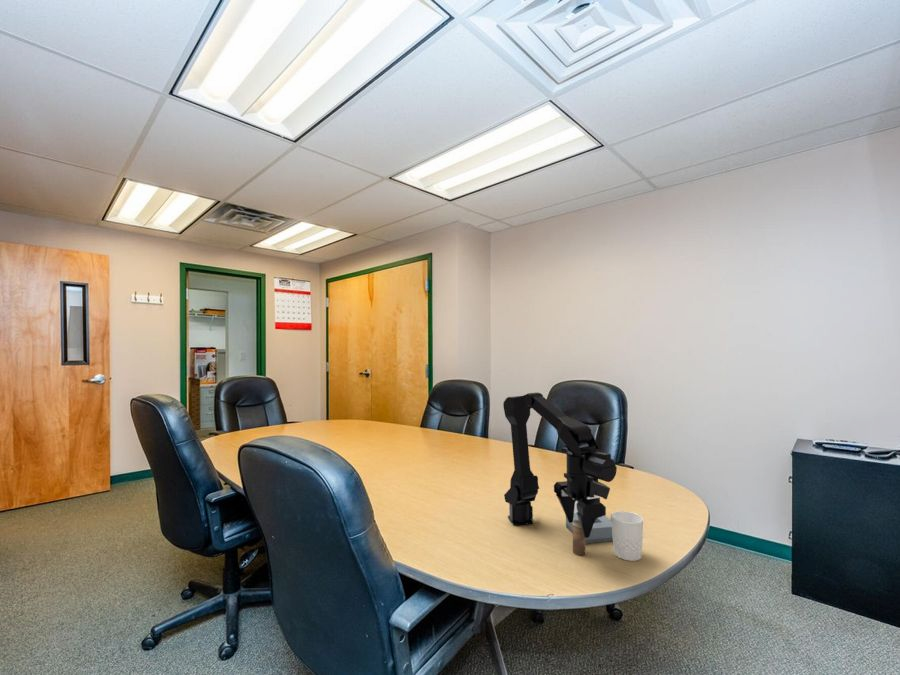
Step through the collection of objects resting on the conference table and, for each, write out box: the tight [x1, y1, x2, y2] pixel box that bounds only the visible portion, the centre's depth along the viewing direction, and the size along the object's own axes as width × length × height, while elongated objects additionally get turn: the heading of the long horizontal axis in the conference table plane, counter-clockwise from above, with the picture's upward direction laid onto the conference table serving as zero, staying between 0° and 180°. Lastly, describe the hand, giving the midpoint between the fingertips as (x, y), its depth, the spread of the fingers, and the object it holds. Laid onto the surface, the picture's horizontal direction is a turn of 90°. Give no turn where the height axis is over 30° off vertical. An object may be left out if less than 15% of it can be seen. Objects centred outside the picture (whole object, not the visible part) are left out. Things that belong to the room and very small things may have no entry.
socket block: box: [565, 513, 613, 544], centre depth 121 cm, size 11×11×4 cm
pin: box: [572, 520, 586, 557], centre depth 110 cm, size 3×3×8 cm
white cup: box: [610, 510, 644, 562], centre depth 108 cm, size 8×8×10 cm
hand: (578, 529), depth 110 cm, fingers open, 9 cm apart
